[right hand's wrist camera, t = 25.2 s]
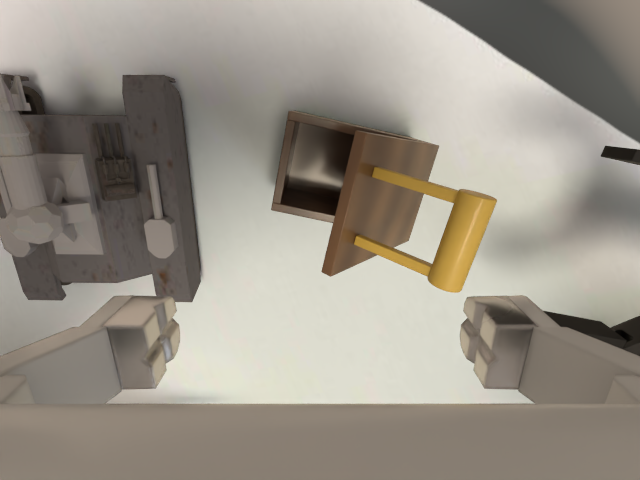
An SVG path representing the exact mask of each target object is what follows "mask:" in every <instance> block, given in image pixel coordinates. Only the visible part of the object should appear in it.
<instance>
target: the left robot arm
mask: <svg viewBox="0 0 640 480" xmlns="http://www.w3.org/2000/svg"><path fill="white" fill-rule="evenodd" d="M601 157H606V158H610V159H615V160H619V161H624V162H628V163H633V164H637V165H640V150H637V149H629V148H620V147H611V146H605V148H604V150H603V152H602V154H601ZM543 312H544V313H546V314H547V315H548V316H549V317H550V318H551V319H552V320H553V321H555V322H556V323H557V324H558V325H559V326H560V327H568V328H570V329H573V330H575V331H578V332H580V333H583V334H585V335H588V336H590V337H593V338H595V339H598V340H600V341H603V342H605V343H608V344H610V345H613V346H615V347H618V348H620V349H623V350H625V351H628V352H630V353H633V354H635V355H638V356H640V316H638V317H635V318H633V319H631V320H628V321H626V322H623V323H621V324H618V325H616V326H613V327H611V328H609V327H608V326H606V325H605V324H604V323H602V322H600V321H595V320H589V319H584V318H579V317H573V316H568V315H563V314H557V313H552V312H547V311H543Z"/></svg>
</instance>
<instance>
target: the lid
mask: <svg viewBox="0 0 640 480" xmlns="http://www.w3.org/2000/svg"><path fill="white" fill-rule="evenodd" d="M438 148H439V145H435V144H430V143H424V142H419V141H413V140H408V139H402V138H396V137H391V136H385V135H380V134H374V133H368V132H363V131H355V135H354V140H353V144H352V148H351V152H350V156H349V160H348V164H347V169H346V173H345V177H344V181H343V185H342V189H341V193H340V197H339V202H338V206H337V210H336V214H335V218H334V222H333V226H332V231H331V235H330V239H329V243H328V247H327V251H326V255H325V260H324V264H323V268H322V272H323V273H325V274H327V275H329V276H333V275H335V274H337V273H340V272H342V271H344V270H346V269H348V268H350V267H353V266H355V265H357V264H359V263H361V262H363V261H366V260H368V259H370V258H372V257H374V256H376V255H379V256H382V257H384V258H386V259H389V260H391V261H393V262H396V263H398V264H400V265H402V266H405V267H407V268H409V269H412V270H414V271H416V272H419V273H421V274H423V275H426V276H428V281H429V282H430V283H431V284H432V285H434V286H435V287H437V288H439V289H442V290H445V291H448V292H460V291H461V290H462V288H463V285H464V282H465V280H466V277H467V275H468V272H469V270H470V267H471V265H472V262H473V260H474V257H475V255H476V252H477V250H478V247H479V245H480V242H481V240H482V237H483V235H484V232H485V230H486V227H487V225H488V222H489V220H490V217H491V215H492V212H493V210H494V207H495V205H496V202H497V200H496V199H495V198H493V197H491V196H488V195H485V194H482V193H479V192H475V191H471V190H465V189H460V190H459V191H458V190H455V189H451V188H448V187H445V186H441V185H438V184H435V183H431V182H428V179H429V176H430V173H431V170H432V167H433V164H434V161H435V157H436V154H437V151H438ZM424 194H427V195H430V196H433V197H436V198H439V199H443V200H446V201H449V202H452V203H454V205H453V208H452V211H451V214H450V217H449V219H448V222H447V225H446V228H445V231H444V233H443V236H442V239H441V242H440V245H439V247H438V250H437V253H436V256H435V259H434V261H433V264H431V263H428V262H426V261H424V260H421V259H419V258H416V257H414V256H411V255H409V254H407V253H404V252H402V251H399V250H397V249H395V248H394V247H396V246H398V245H400V244H403V243H405V242H407V241H409V238H410V235H411V232H412V229H413V226H414V222H415V219H416V216H417V213H418V210H419V207H420V204H421V201H422V198H423V195H424Z"/></svg>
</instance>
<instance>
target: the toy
mask: <svg viewBox="0 0 640 480" xmlns="http://www.w3.org/2000/svg"><path fill="white" fill-rule="evenodd" d="M11 80H13V82H12V85H11ZM21 81H29V79H28V77H23V76H16V75H15V76H14V75H5V74H0V237H1V240H2V243H3V246H4V249H6V250H7V251H8V252H9V253H10V254H12V257H13V260H14V264H15V267H16V270H17V273H18V276H19V280H20V283H21V286H22V289H23V292H24V294H25V295H26V297H27V298H28V300H63V299H64V298H65V297H66V294H65V292H64V290H63V289H62V286H61V285H69V284H71V283H119V282H122V281H126V280H130V279H134V278H138V277H142V276H145V275H149V274H153V280H154V286H155V292H156V295H157V296H170V297H172V298H173V299H174V300H175V302H192V301H193V299H194V296H195V294H196V291H197V289H198V287H199V284H200V282H201V279H200V259H199V250H198V241H197V233H196V224H195V216H194V207H193V199H192V190H191V181H190V173H189V164H188V156H187V147H186V138H185V130H184V121H183V113H182V104H181V98H180V95H179V92H178V91H177V89H176V88H175V87H174V86H173V85H172V83H171V82H175V79H174V78H170V77H167V76H165V75H123V99H124V105H125V111H126V116H104V115H45V113H44V109H43V105H42V101H41V97H40V96H39V94H38V93H37V92H36V91H34V90H33V89H31V88H29V87H26V86H22V84H21Z"/></svg>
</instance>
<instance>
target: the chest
mask: <svg viewBox="0 0 640 480" xmlns="http://www.w3.org/2000/svg"><path fill="white" fill-rule="evenodd" d="M287 119H288V120H287V124H286V129H285V135H284V141H283V146H282V152H281V157H280V163H279V169H278V174H277V180H276V186H275V191H274V197H273V203H272V208H271V210H274V211H278V212H283V213H288V214H293V215H298V216H302V217H307V218H312V219H317V220H321V221H326V222H331V223H333V222H334V218H335V214H336V210H337V206H338V202H339V197H340V193H341V189H342V185H343V181H344V177H345V173H346V169H347V164H348V160H349V156H350V152H351V148H352V144H353V140H354V135H355V131H363V132H368V133H374V134H380V135H385V136H391V137H396V138H402V139H408V140H413V141H419V142H424V141H421V140H418V139H414V138H411V137H407V136H403V135H399V134H394V133H390V132H386V131H381V130H377V129H373V128H368V127H364V126H360V125H355V124H351V123H347V122H342V121H338V120H334V119H329V118H325V117H321V116H316V115H312V114H308V113H303V112H299V111H289V112H288V118H287ZM424 143H428V142H424ZM430 144H431V143H430Z"/></svg>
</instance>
